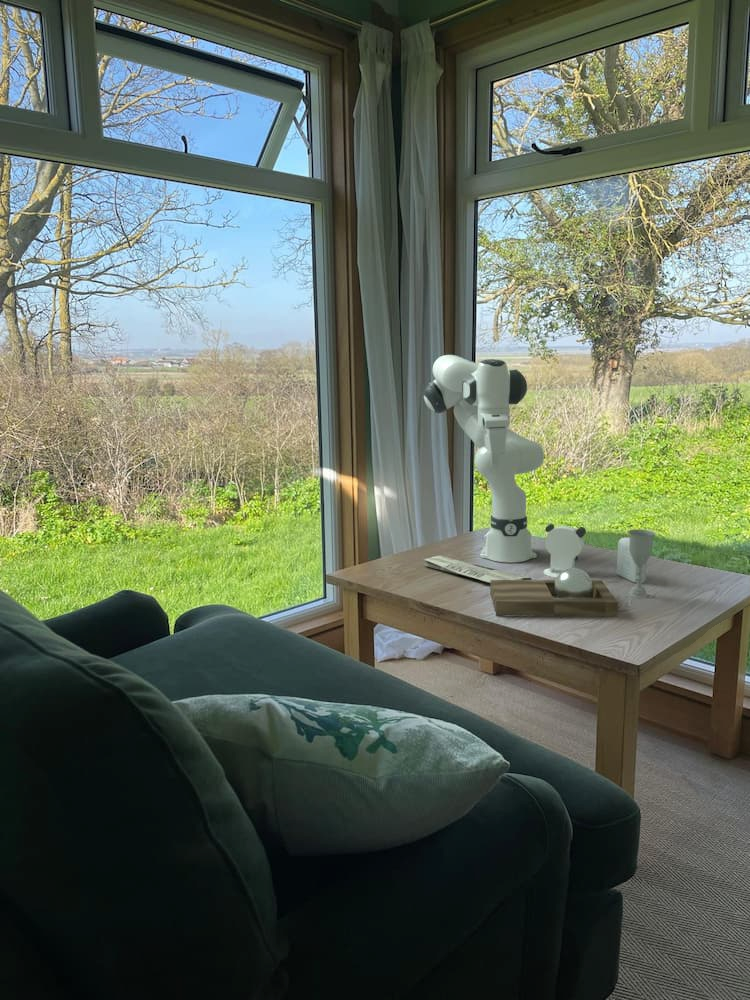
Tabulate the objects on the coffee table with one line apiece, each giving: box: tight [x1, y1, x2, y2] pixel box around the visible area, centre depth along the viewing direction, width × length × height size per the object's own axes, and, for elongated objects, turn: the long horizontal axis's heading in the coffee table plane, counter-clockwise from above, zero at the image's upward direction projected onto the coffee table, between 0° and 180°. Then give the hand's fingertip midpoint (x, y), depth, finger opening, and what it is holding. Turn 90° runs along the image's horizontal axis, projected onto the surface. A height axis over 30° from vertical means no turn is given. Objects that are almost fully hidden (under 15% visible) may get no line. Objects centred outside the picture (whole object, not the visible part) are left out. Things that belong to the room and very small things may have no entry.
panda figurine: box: [543, 523, 587, 579], centre depth 220 cm, size 12×11×15 cm
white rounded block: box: [616, 537, 648, 584], centre depth 214 cm, size 10×4×12 cm, turn 17°
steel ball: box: [554, 567, 593, 598], centre depth 193 cm, size 10×10×10 cm
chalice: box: [627, 529, 656, 599], centre depth 199 cm, size 7×7×18 cm
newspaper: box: [420, 555, 533, 584], centre depth 222 cm, size 35×12×4 cm, turn 44°
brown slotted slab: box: [489, 579, 619, 617], centre depth 194 cm, size 18×31×4 cm, turn 86°
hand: (494, 467), depth 202 cm, fingers closed
